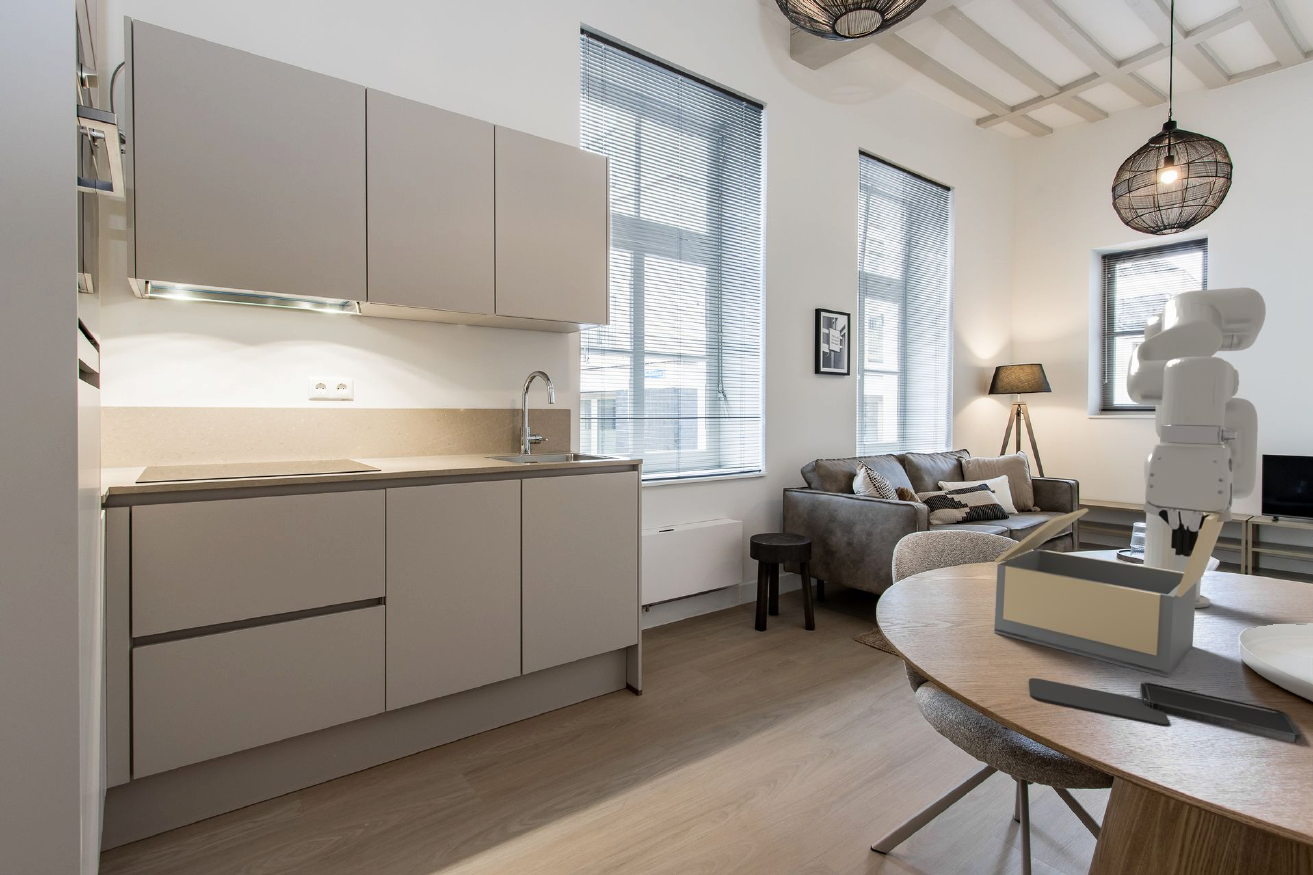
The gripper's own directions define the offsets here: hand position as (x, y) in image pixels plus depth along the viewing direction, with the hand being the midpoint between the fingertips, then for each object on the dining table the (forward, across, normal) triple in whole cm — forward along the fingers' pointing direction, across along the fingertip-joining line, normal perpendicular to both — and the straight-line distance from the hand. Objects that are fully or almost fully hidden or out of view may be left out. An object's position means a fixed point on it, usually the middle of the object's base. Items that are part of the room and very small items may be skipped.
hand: (1183, 554), depth 100 cm
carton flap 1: (0, +19, 0) cm, 19 cm away
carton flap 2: (-1, -2, 0) cm, 2 cm away
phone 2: (+17, -7, +19) cm, 27 cm away
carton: (+17, +12, 0) cm, 20 cm away
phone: (+18, +4, +28) cm, 33 cm away
